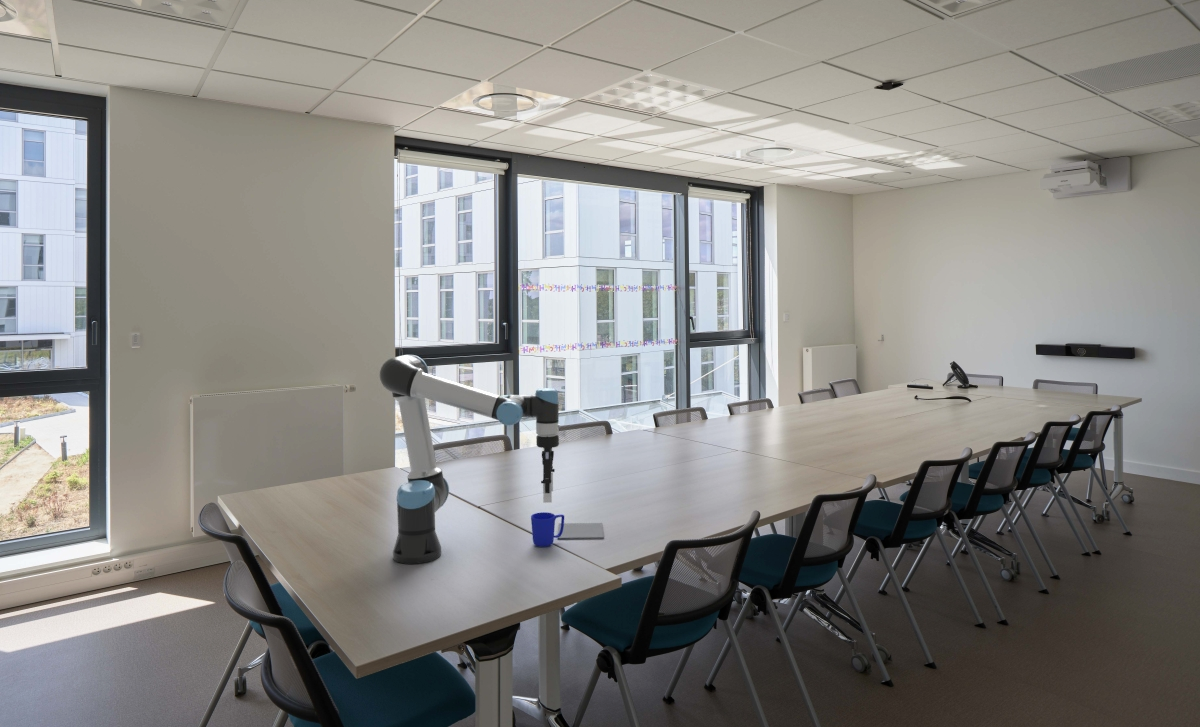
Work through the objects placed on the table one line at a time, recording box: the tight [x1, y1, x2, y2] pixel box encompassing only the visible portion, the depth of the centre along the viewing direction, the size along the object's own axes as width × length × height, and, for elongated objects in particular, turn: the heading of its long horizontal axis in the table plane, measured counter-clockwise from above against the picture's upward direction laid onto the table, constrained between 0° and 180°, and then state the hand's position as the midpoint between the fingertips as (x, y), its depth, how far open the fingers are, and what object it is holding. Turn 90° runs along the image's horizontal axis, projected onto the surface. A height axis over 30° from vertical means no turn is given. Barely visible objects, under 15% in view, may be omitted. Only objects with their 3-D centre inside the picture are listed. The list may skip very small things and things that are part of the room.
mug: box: [530, 511, 565, 548], centre depth 238 cm, size 8×12×10 cm
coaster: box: [557, 522, 605, 541], centre depth 250 cm, size 16×16×1 cm
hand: (548, 496), depth 237 cm, fingers open, 13 cm apart
